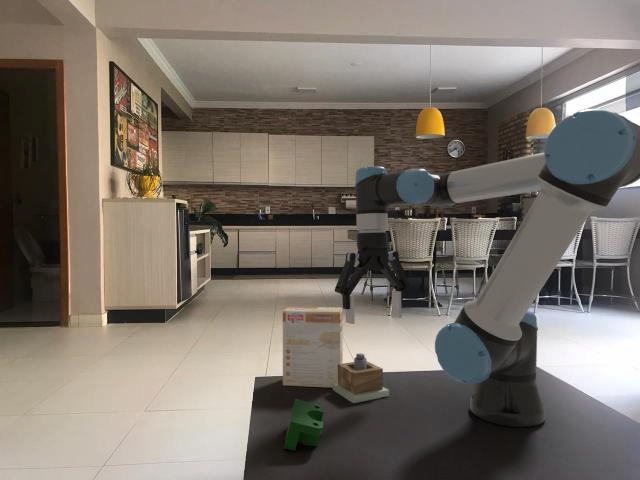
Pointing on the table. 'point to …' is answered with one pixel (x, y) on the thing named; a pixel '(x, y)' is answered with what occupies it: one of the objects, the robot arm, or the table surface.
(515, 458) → the table surface
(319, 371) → the coffeecake box
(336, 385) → the sage green base plate
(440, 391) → the table surface
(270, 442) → the table surface
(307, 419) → the clamp
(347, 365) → the collar
